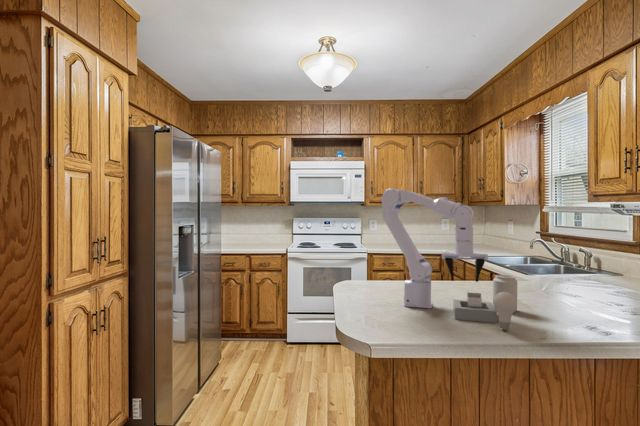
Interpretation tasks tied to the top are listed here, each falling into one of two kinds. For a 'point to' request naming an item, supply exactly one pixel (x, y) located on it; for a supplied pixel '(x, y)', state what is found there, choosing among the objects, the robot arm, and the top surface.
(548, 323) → the top surface
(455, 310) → the well block
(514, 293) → the can
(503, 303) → the lightbulb
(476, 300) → the bracket
